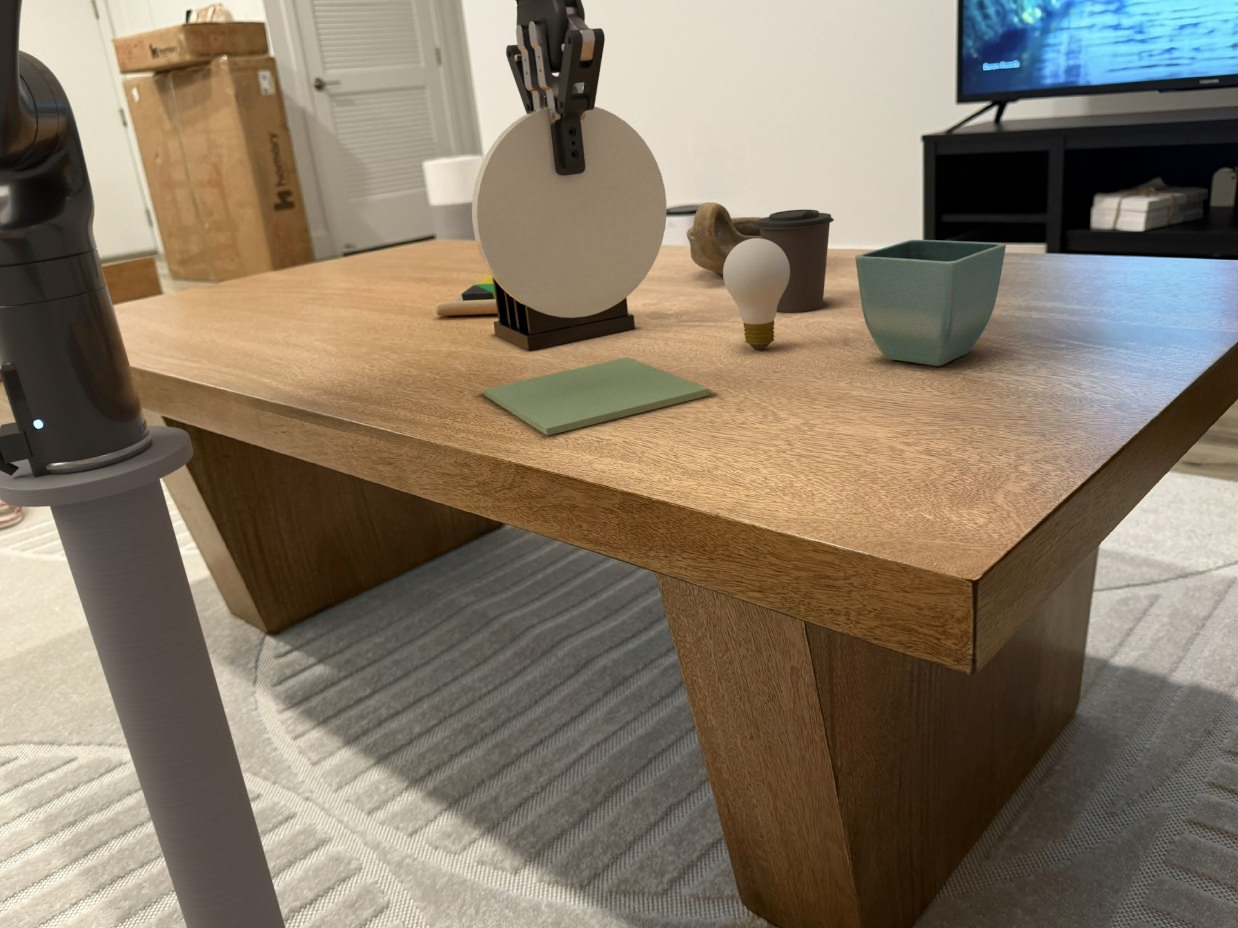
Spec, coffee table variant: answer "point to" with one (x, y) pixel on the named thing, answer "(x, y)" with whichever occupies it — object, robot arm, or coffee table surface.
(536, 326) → the rack
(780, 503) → the coffee table surface
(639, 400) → the mat
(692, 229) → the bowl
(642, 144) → the plate
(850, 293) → the coffee table surface
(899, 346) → the flower pot
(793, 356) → the coffee table surface
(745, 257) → the light bulb
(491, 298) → the wooden puzzle
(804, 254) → the coffee cup
